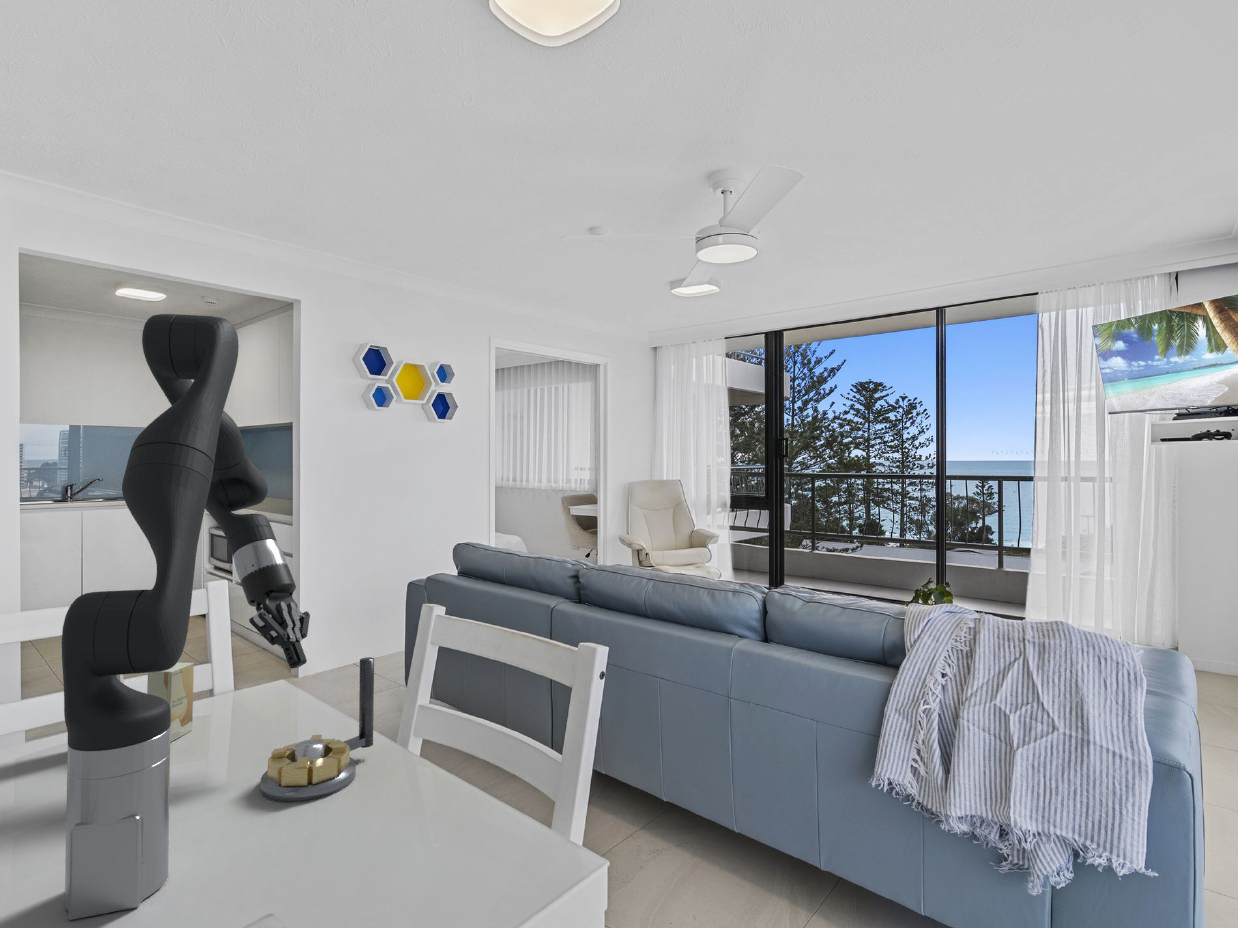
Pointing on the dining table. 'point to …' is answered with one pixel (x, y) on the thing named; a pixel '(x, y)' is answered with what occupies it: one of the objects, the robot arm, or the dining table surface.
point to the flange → (311, 791)
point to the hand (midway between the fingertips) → (299, 665)
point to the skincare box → (175, 695)
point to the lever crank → (328, 744)
